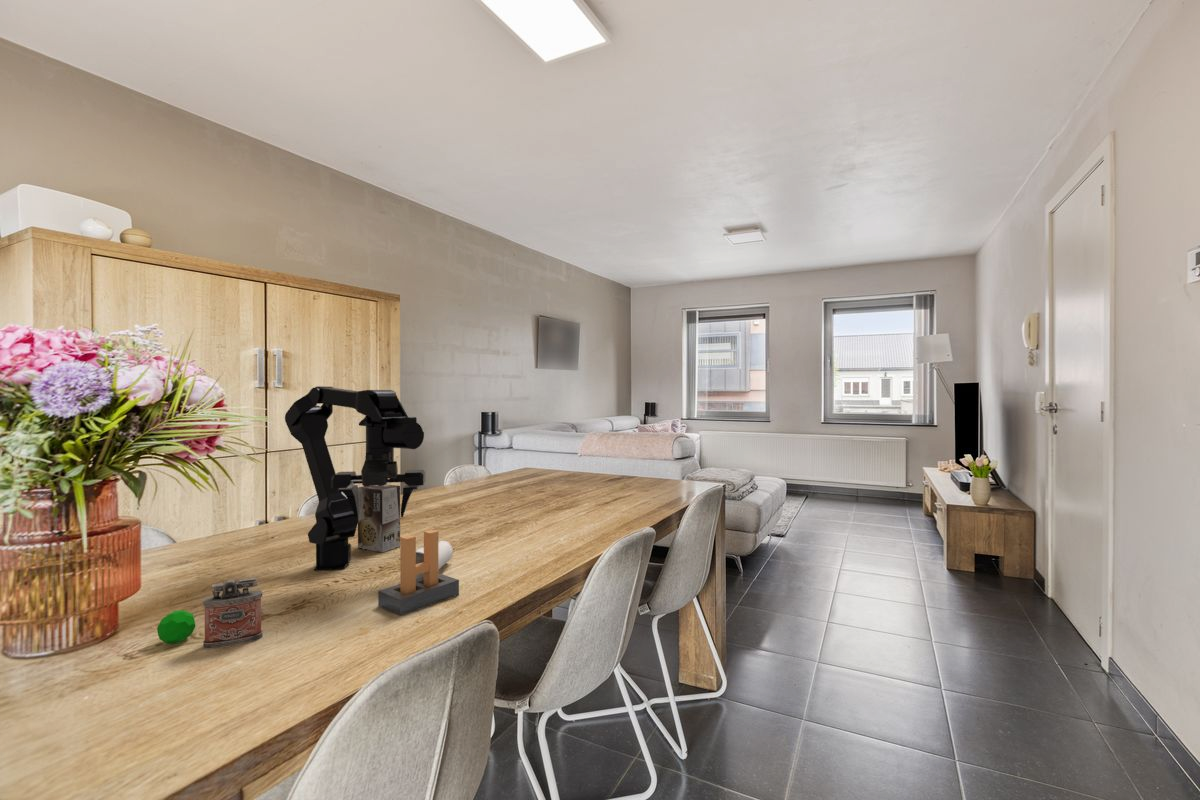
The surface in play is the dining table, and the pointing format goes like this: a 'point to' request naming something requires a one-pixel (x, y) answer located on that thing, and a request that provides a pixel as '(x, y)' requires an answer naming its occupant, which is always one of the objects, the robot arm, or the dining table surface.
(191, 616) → the polyhedron
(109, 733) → the dining table surface
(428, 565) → the orange letter h block
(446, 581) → the grey slotted base block
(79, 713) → the dining table surface
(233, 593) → the lighter
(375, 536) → the coffee box
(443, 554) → the drinking glass
